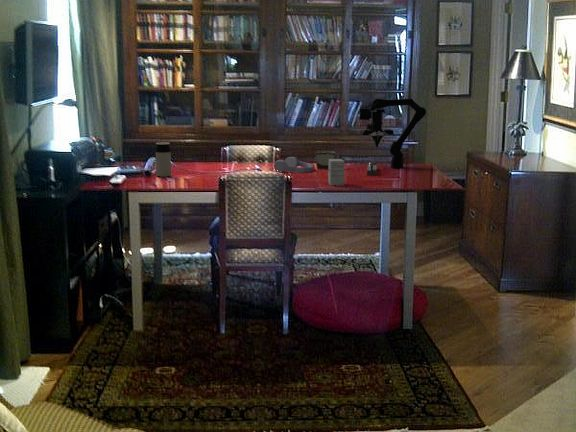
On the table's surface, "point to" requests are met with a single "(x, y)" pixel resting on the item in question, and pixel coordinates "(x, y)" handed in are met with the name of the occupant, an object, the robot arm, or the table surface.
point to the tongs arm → (374, 170)
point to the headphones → (293, 165)
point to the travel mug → (163, 159)
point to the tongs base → (370, 166)
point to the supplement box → (336, 172)
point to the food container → (324, 158)
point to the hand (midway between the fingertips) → (376, 147)
